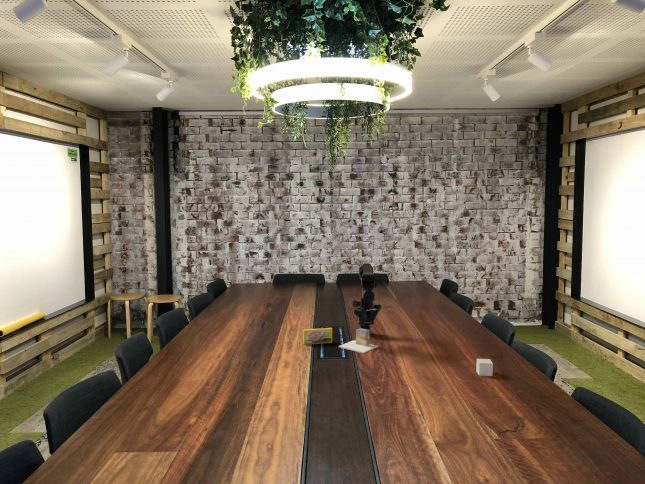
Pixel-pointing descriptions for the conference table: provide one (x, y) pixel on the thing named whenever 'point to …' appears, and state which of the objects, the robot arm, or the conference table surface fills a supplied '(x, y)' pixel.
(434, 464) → the conference table surface
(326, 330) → the candy box
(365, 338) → the maple block
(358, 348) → the mat
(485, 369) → the white cube
